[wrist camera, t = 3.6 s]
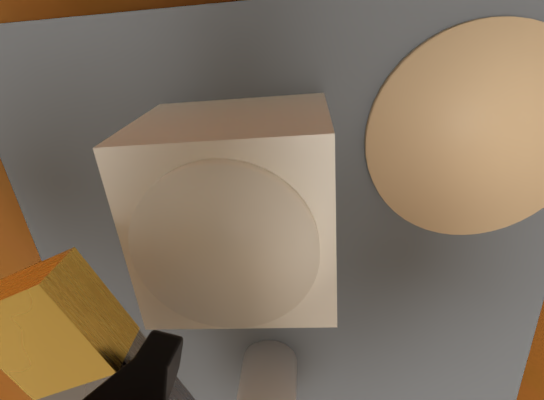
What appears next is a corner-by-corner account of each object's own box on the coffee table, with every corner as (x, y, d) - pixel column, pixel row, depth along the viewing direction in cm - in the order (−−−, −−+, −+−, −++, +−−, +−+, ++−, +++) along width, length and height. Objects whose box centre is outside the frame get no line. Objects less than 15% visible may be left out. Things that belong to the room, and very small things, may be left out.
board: (-24, 27, 13) (-317, 41, 7) (604, -33, 11) (983, -86, 5) (116, 402, 22) (38, 566, 15) (497, 404, 20) (591, 594, 13)
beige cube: (159, 104, 13) (83, 153, 8) (323, 92, 12) (336, 139, 8) (187, 243, 15) (140, 340, 11) (327, 238, 15) (338, 338, 10)
